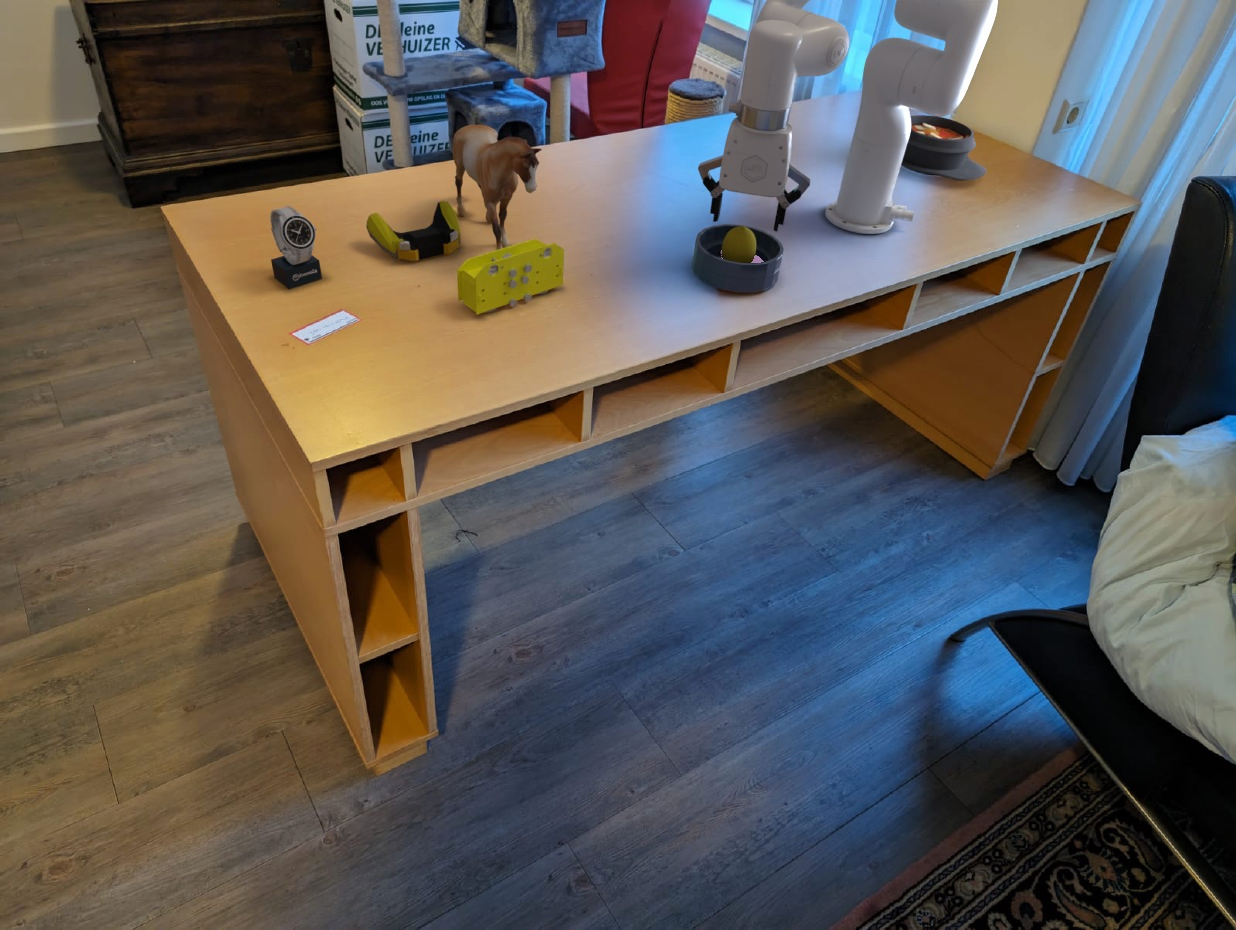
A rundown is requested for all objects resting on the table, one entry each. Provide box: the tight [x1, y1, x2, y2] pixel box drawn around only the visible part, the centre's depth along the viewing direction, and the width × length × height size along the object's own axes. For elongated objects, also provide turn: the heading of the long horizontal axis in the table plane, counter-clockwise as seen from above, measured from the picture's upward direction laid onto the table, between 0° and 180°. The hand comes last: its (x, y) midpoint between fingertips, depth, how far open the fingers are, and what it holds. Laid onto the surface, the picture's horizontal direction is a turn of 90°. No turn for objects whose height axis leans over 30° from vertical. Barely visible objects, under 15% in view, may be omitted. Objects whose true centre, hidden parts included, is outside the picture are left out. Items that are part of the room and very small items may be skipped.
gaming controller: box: [365, 200, 462, 262], centre depth 142 cm, size 15×6×10 cm
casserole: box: [901, 114, 987, 182], centre depth 187 cm, size 25×19×8 cm
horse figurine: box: [452, 124, 543, 250], centre depth 142 cm, size 31×8×21 cm, turn 23°
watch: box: [269, 205, 323, 290], centre depth 130 cm, size 6×8×11 cm
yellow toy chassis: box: [456, 238, 565, 315], centre depth 131 cm, size 16×6×8 cm, turn 131°
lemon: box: [722, 224, 756, 263], centre depth 142 cm, size 6×6×8 cm
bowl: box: [691, 223, 785, 294], centre depth 144 cm, size 14×14×6 cm
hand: (746, 223), depth 140 cm, fingers open, 9 cm apart
